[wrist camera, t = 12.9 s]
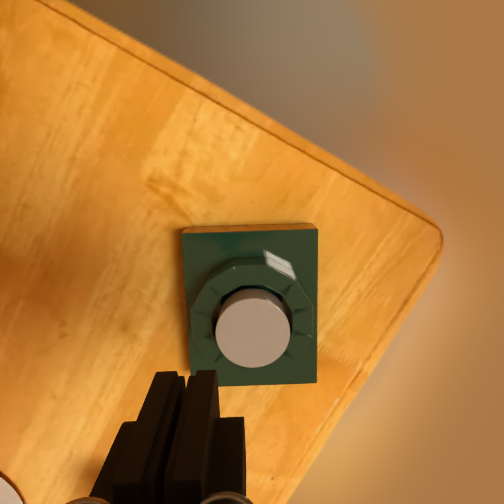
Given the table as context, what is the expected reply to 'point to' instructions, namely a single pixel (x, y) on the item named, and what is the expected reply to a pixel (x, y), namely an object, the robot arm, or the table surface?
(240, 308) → the button
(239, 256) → the green button housing
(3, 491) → the teacup
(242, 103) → the table surface
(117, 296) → the table surface
